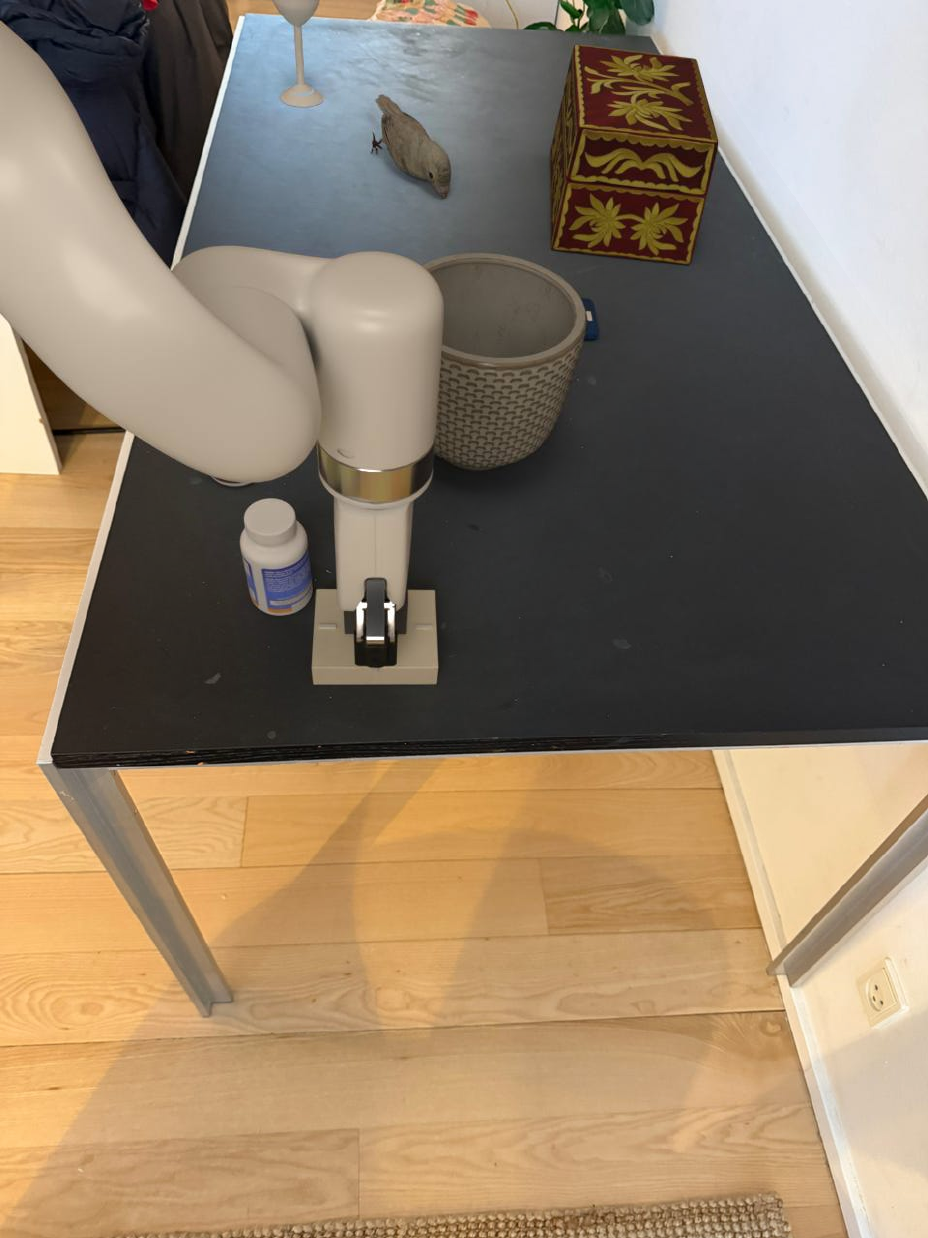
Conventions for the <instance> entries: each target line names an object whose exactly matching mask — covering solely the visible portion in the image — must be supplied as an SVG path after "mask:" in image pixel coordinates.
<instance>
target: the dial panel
mask: <svg viewBox="0 0 928 1238" xmlns="http://www.w3.org/2000/svg"><path fill="white" fill-rule="evenodd" d="M314 605H315V606H314V621H313V623H314V624H313V638H312V639H313V640H312V655H311V677H312V684H313V685H315V686H316V685H317V686H318V685H319V686H320V685H323V686H324V685H329V686H330V685H332V686H334V685H335V686H336V685H337V686H338V685H339V686H340V685H344V686H345V685H437V684H438V674H439V652H438V630H437V629H438V628H437V608H436V607H437V606H436V591H435V589H408V612H407V632H406V634H398V642H397V664H396V665H395V666H384V667H382V668H370V667H367V666H357V665H355V658H354V634H345V630H344V611H343V610H341V609H340V608H339V606H338V605H337V588H317V589H316V591H315V603H314Z"/></svg>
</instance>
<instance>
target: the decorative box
mask: <svg viewBox="0 0 928 1238" xmlns="http://www.w3.org/2000/svg"><path fill="white" fill-rule="evenodd" d="M718 149H719V138H718V135H717V130H716V126H715V123H714V119H713V114H712V111H711V107H710V104H709V100H708V96H707V93H706V88H705V84H704V82H703V78H702V74H701V71H700V66H699V62H698V60H697V59H696V58H693V57H687V56H678V55H669V54H660V53H653V52H643V51H636V50H635V51H634V50H627V49H620V48H619V49H617V48H609V47H601V46H595V45H594V46H593V45H584V44H574V46H573V48H572V52H571V56H570V60H569V66H568V69H567V73H566V78H565V82H564V88H563V94H562V97H561V102H560V106H559V110H558V114H557V119H556V124H555V128H554V131H553V137H552V142H551V145H550V152H549V168H550V169H549V171H550V175H549V179H550V180H549V181H550V182H549V183H550V185H549V187H550V246H551V250H553V251H560V252H567V253H568V252H569V253H577V254H584V255H585V254H586V255H595V256H605V257H613V258H623V259H632V260H640V261H649V262H657V263H658V262H659V263H669V264H677V265H685V266H686V265H691V264H692V260H693V257H694V253H695V249H696V245H697V240H698V235H699V231H700V227H701V222H702V218H703V214H704V210H705V205H706V201H707V195H708V193H709V188H710V184H711V179H712V176H713V171H714V167H715V162H716V158H717V154H718Z"/></svg>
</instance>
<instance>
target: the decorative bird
mask: <svg viewBox="0 0 928 1238" xmlns="http://www.w3.org/2000/svg"><path fill="white" fill-rule="evenodd" d="M377 96H378V97H377V98H375V100H374V101H375V103H376V104H377V107H378V108H379V110H380V111H381V112H382V113H383V114H382V116H381V120H380V121H381V122H380V123H381V125H380V126H381V138H380V139H379V140H378V141H377V140H376V135H375V133H374V131H371V132H372V141H371V145H372V147H371V148H372V149H371V152H370V154H373V152H374V150H375V152H376V155H378V150H379V149H380V150H381V151H383V147H382V146H381V143H383V144H384V145H385V146H386V148H387V149H386V150H387V151H388V153H389V155H390V156H391V159H392V160H393V162H394V163H395V164H396V166H397V167H398V168H399V169H400V170H401V171H402V172H403V173H405V174H407V175H409V176H412V177H415V178H417V179H419V180H421V181H425V180H426V181H428V183H430V184H431V185H432V187H433V188H434V190H435V191H436V193H437V194H438V195H439V197H440V198H441V199H443V200H444V199H445V198H446V196H447V195H448V192H449V190H450V184H451V179H452V168H451V167H452V166H451V161H450V158H449V155H448V154H447V152H446V151H445V150H444V149H443V147H442V146H440V144H438V142H436V141H434V140H433V139H432V138H431V137H430V135H429V134H428V132H427V130H426V129H425V127H424V126H423V125H422V124H421V123H420V121H418V120H417V119H416V118H415V117H414V116H412V115H410V114H408V113H406V112H405V111H403V110H402V109H401V107H400V106H399V105H398V104H397V103H396V102H394V101H393V100H392V99H391V98H390V97H389V96H386V95H385V94H382V93H381V94H379V95H377ZM376 147H377V148H376ZM373 148H374V149H373ZM378 148H379V149H378Z"/></svg>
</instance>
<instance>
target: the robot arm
mask: <svg viewBox="0 0 928 1238" xmlns="http://www.w3.org/2000/svg"><path fill="white" fill-rule="evenodd" d="M0 315H1V316H2V318H4V320H5V321H6V322H7V323H8V324H9V325H10V326H11V327H12V328H13V330H14V331H15V332H16V333H17V334H18V336H19V337H20V338H21V339H22V340H23V341H24V342H25V344H26V345H27V346H28V347H29V348H30V350H32V351H33V353H35V355H36V356H37V357H38V358H39V359H40V360H41V362H42V363H44V364H45V365H46V366H47V368H48V369H49V370H50V371H51V372H52V373H53V374H54V375H55V376H56V377H57V378H58V379H59V380H60V381H61V382H62V383H64V385H66V386H67V387H68V388H69V389H70V390H71V391H72V392H74V394H76V395H77V396H78V397H79V398H81V399H82V401H85V403H87V404H88V405H89V406H90V407H92V408H93V409H94V410H95V411H96V412H98V413H100V414H101V415H103V416H105V417H106V418H107V419H108V420H110V421H111V422H113V423H114V424H116V425H117V426H119V427H121V428H122V429H124V430H125V431H127V432H128V433H130V434H131V435H134V436H135V437H137V438H139V439H140V440H142V441H143V442H145V443H147V444H148V445H150V446H151V447H152V448H155V449H156V450H157V451H160V452H161V453H163V454H165V455H167V456H168V457H170V458H172V459H174V460H175V461H176V462H179V463H180V464H183V465H185V466H187V467H189V468H190V469H192V470H195V471H198V472H200V473H203V474H205V475H207V476H210V477H211V476H213V477H217V478H220V479H224V480H228V481H234V482H242V483H249V482H252V483H263V482H269V481H273V480H275V479H278V478H281V477H283V476H286V475H288V474H289V473H291V472H292V471H295V470H296V469H297V468H298V467H299V466H300V465H301V464H302V463H303V462H305V460H306V459H307V458H308V457H309V455H310V454H311V452H312V450H313V449H314V447H315V446H316V458H317V460H316V461H317V471H318V477H319V480H320V482H321V484H322V485H323V487H324V488H325V490H327V492H328V493H329V494H331V495H332V496H333V526H334V552H335V554H334V555H335V574H336V575H335V576H336V580H335V581H336V589H337V605H338V606H339V608H340V609H341V610H343V611H354V610H355V609H356V608H357V630H354V658H355V665H357V666H367V667H370V668H382V667H384V666H395V665H396V664H397V642H398V630H395V608H396V611H397V610H399V609H400V608H401V607H402V606H403V605H404V601H405V593H406V586H408V585H407V583H408V576H409V575H408V574H409V566H410V558H411V557H410V556H411V545H412V534H413V533H412V532H413V529H412V528H413V516H414V501H415V500H416V499H417V498H419V497H420V496H422V494H424V492H425V491H426V490H427V489H428V488H429V486H430V484H431V482H432V479H433V475H434V465H435V464H434V463H435V454H434V450H435V435H436V422H437V406H438V392H439V377H440V363H441V349H442V336H443V322H444V303H443V297H442V294H441V291H440V288H439V286H438V283H437V282H436V281H435V279H434V278H433V276H432V275H431V274H430V273H429V272H428V271H427V270H426V269H425V268H424V267H422V266H421V265H420V264H419V262H418V263H417V262H416V261H414V260H413V259H411V258H408V257H406V256H403V255H400V254H397V253H392V252H387V251H380V250H379V251H377V250H365V251H364V250H363V251H356V252H351V253H347V254H344V255H341V256H338V257H335V258H331V257H322V256H321V257H320V256H311V255H304V254H299V253H298V254H297V253H290V252H284V251H278V250H272V249H265V248H259V247H250V246H244V245H228V244H227V245H226V244H225V245H214V246H208V247H204V248H200V249H197V250H195V251H193V252H191V253H189V254H187V255H185V256H184V257H183V258H181V259H180V260H179V261H178V262H177V263H176V265H174V267H173V268H172V269H170V267H169V266H168V265H167V264H166V263H165V261H164V260H163V259H162V258H161V257H160V255H159V254H158V252H156V250H155V249H154V247H153V246H152V245H151V244H150V243H149V241H148V240H147V238H146V237H145V235H144V234H143V233H142V231H141V230H140V228H139V226H138V225H137V223H136V222H135V221H134V219H133V218H132V216H131V214H130V213H129V212H128V210H127V208H126V206H125V204H124V203H123V202H122V200H121V198H120V197H119V194H118V193H117V190H116V189H115V187H114V185H113V183H112V181H111V180H110V177H109V175H108V174H107V171H106V169H105V167H104V165H103V163H102V160H101V159H100V157H99V154H98V152H97V150H96V148H95V146H94V144H93V141H92V139H91V138H90V135H89V133H88V130H87V129H86V127H85V125H84V123H83V121H82V119H81V117H80V116H79V113H78V111H77V109H76V107H75V106H74V103H73V102H72V101H71V99H70V97H69V96H68V94H67V92H66V91H65V89H64V88H63V87H62V85H61V83H60V82H59V80H58V79H57V77H56V75H55V74H54V73H53V71H52V69H50V67H49V66H48V64H47V63H46V62H45V61H44V59H43V58H42V57H41V56H40V54H38V53H37V52H36V51H35V50H34V49H33V48H32V47H31V45H29V44H28V43H27V42H26V41H24V39H22V38H21V37H20V36H19V35H18V34H17V33H16V32H14V31H13V30H12V29H11V28H10V27H9V26H7V25H6V24H5V23H4V22H3V21H1V20H0ZM366 589H367V599H363V598H364V592H366ZM384 590H386V592H387V597H388V598H389V599H384ZM364 610H367V626H365V628H364ZM384 610H388V627H387V626H384Z"/></svg>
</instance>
